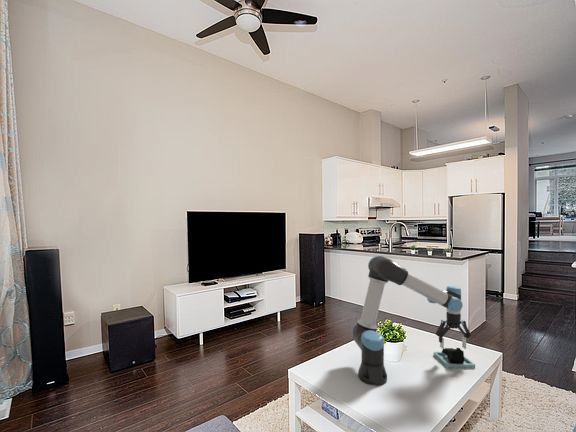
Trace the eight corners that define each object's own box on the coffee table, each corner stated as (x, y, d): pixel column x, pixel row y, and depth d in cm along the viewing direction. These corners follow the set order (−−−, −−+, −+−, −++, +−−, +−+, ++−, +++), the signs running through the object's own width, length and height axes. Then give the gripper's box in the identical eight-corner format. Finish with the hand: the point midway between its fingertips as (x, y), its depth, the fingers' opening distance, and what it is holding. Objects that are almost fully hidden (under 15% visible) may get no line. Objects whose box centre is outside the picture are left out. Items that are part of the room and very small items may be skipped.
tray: (447, 368, 172) (447, 364, 172) (433, 355, 188) (433, 352, 188) (475, 368, 172) (475, 364, 172) (458, 354, 188) (458, 351, 188)
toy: (453, 343, 189) (465, 349, 174) (454, 356, 188) (466, 364, 173) (438, 342, 190) (448, 348, 175) (439, 356, 188) (450, 363, 174)
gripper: (436, 314, 176) (435, 350, 176) (478, 314, 176) (477, 350, 176) (429, 310, 183) (429, 345, 183) (470, 310, 184) (469, 345, 184)
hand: (453, 347), depth 180 cm, fingers open, 13 cm apart
